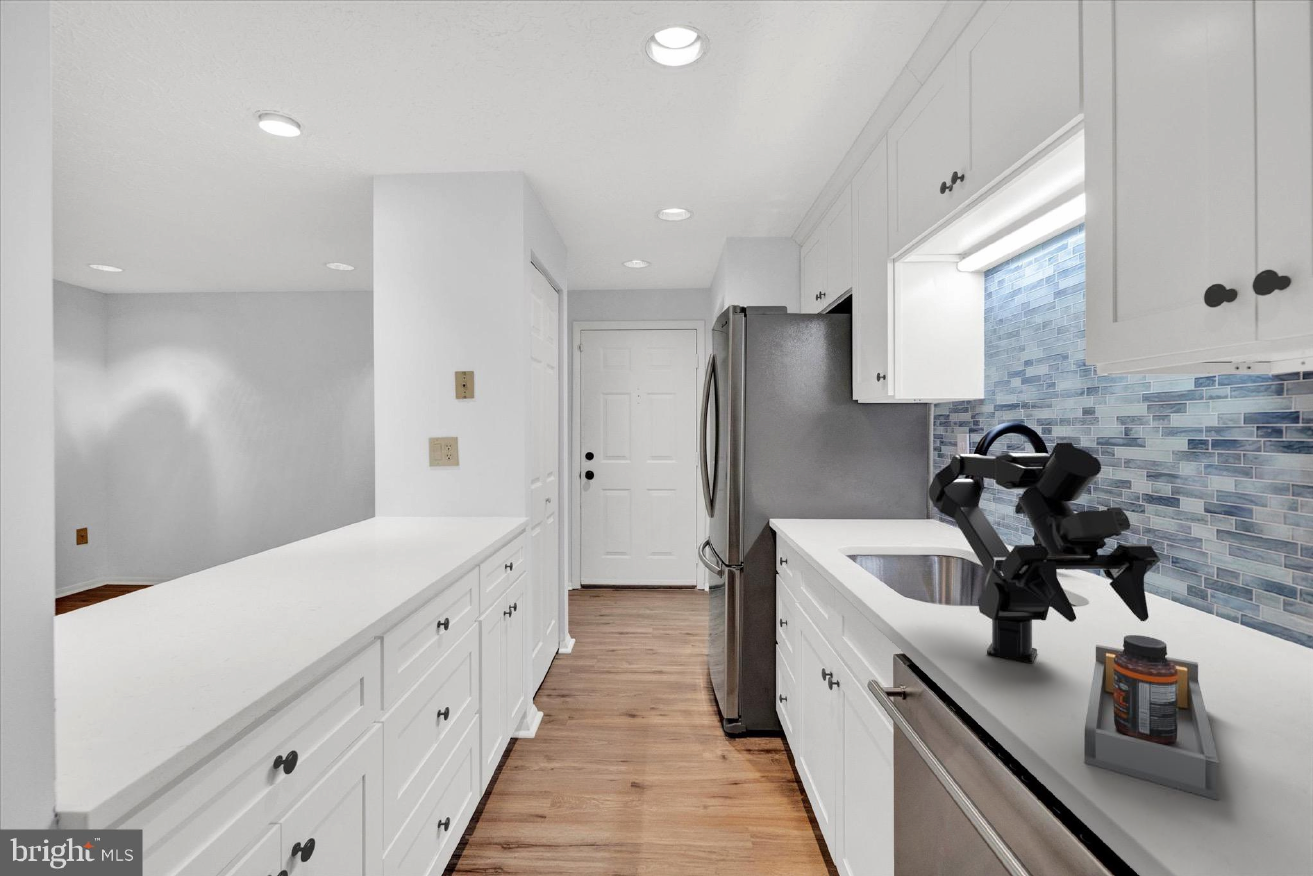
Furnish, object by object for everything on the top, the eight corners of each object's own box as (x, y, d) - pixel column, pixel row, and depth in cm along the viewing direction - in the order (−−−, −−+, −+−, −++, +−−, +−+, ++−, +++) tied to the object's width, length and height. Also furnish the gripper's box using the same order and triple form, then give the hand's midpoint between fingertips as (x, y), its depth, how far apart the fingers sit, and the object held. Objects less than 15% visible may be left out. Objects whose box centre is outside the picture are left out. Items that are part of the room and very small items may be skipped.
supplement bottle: (1103, 719, 75) (1103, 630, 75) (1159, 724, 74) (1159, 633, 73) (1129, 743, 69) (1128, 647, 69) (1189, 749, 68) (1189, 650, 68)
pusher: (1106, 681, 85) (1106, 647, 85) (1185, 697, 80) (1185, 661, 80) (1105, 691, 82) (1105, 655, 82) (1187, 708, 77) (1187, 670, 77)
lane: (1095, 684, 87) (1096, 644, 87) (1197, 705, 80) (1197, 662, 80) (1084, 762, 67) (1084, 711, 67) (1218, 800, 60) (1219, 743, 60)
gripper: (1012, 487, 82) (1066, 589, 71) (1149, 486, 82) (1224, 588, 71) (982, 533, 90) (1026, 631, 79) (1106, 532, 90) (1167, 630, 79)
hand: (1109, 620), depth 77 cm, fingers open, 9 cm apart
